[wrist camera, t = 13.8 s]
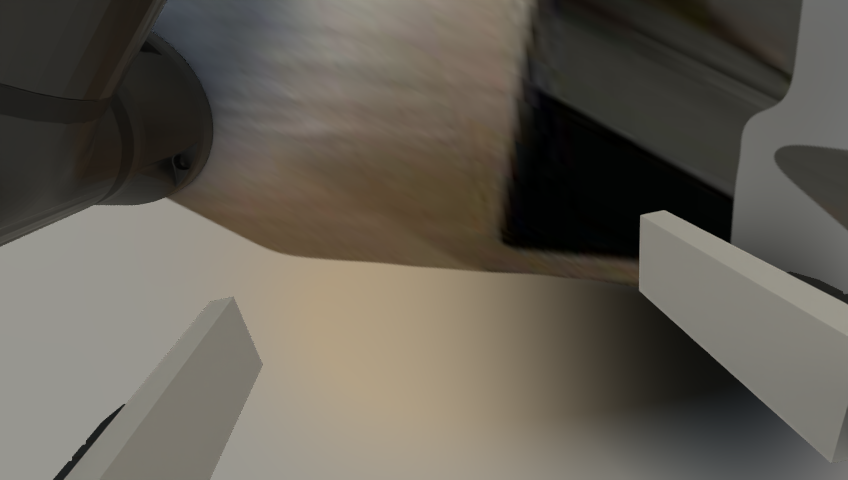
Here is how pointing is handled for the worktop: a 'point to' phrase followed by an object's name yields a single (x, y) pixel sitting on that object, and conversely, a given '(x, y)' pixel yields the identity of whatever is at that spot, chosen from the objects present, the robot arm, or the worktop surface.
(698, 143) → the worktop surface
